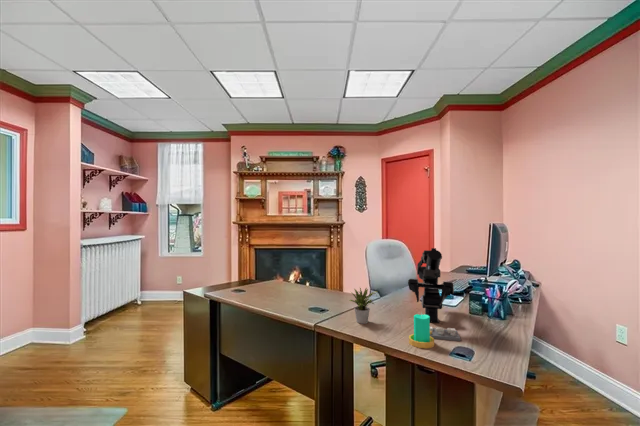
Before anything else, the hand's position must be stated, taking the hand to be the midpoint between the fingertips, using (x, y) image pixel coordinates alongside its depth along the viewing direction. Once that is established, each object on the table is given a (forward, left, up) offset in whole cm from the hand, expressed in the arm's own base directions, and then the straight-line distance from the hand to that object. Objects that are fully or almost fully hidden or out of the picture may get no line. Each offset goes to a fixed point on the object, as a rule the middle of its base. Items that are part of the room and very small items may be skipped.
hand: (428, 303), depth 130 cm
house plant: (-5, -29, -13) cm, 32 cm away
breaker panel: (+2, +4, -13) cm, 13 cm away
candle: (+12, -4, -13) cm, 18 cm away
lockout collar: (+13, -4, -13) cm, 18 cm away
